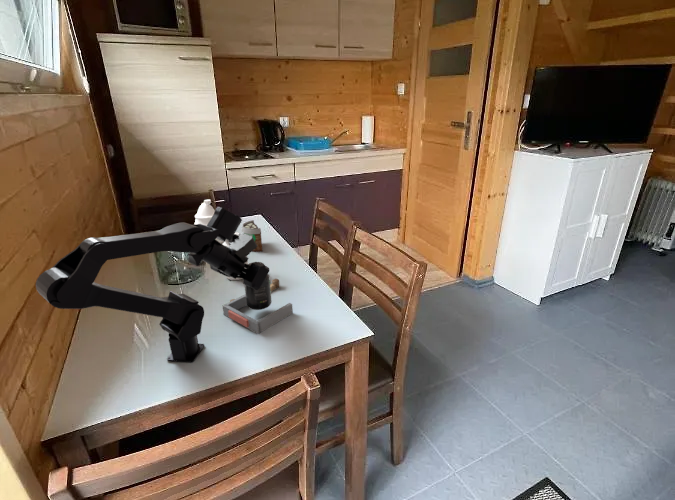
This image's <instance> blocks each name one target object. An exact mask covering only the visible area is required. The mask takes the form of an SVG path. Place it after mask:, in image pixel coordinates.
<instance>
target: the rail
mask: <svg viewBox="0 0 675 500" xmlns="http://www.w3.org/2000/svg"><path fill="white" fill-rule="evenodd" d="M280 287H281V285H280V280H279V279H278V278H273V279H272V280H271V283H270V289H271V292H273V291H275V290H277V289H280ZM235 299H236V298H233V299H230V300H229V302H230V301H232V300H235Z"/></svg>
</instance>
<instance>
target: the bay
mask: <svg viewBox="0 0 675 500" xmlns="http://www.w3.org/2000/svg"><path fill="white" fill-rule="evenodd" d="M234 299H235V300H232V299H231V300H232V301H230V300H229V302H225V304H224V303H223V305H222V312H223V315H224V316H226V317H227V318H229V319H230V320H232V321H234V322H236V323H238V324H239V325H241V326H242V327H245V328H247V329H249V330H250V331H252V332H253V333H256V334H260V333H262V332H264V331H265V330H267V329H268V328H271V327H272V326H273V325H275V324H277V323H278V322H280V321H283V320H284V319H285V318H287V317H289V316H291V315H293V314H294V311H293V303H291V302H288V303H287V304H285V305H283V306H281V307H279V308H277V309H276V310H274V311H273V312H270V313H269V314H267V315H266V316H263V317H262V318H260V319H258V320H257V319H256V318H255V319H254V318H253V317H251V316H249V315H247V314H245V313H243V312H241V311H240V309H242V308H244V307H247V301H246V293H245V294H243V295H241V296H239V297H237V298H234Z"/></svg>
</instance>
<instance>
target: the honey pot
mask: <svg viewBox="0 0 675 500" xmlns="http://www.w3.org/2000/svg"><path fill="white" fill-rule="evenodd" d="M215 210H216V209H215V208H214V207H213V206H212V205H211V199H204V200H203V203H201V205H199V207H198V209H197V213H196V214H195V215H194V218H195V220H194V221H195V222H194V224H202V225H206V226H207V224H208V223H209V221H210V220H211V218H212V216H213V215H214V212H215ZM194 224H193V225H194ZM215 240H217V241H218V242H220V243H221V244H223V243H224V242H223V241H221V240H219V239H217V238H216V239H215Z"/></svg>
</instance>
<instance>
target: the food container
mask: <svg viewBox="0 0 675 500" xmlns="http://www.w3.org/2000/svg"><path fill="white" fill-rule="evenodd" d="M241 233H242V234H247V235H250V236H252V237H253V239H254V241H255V242H256V244H257V248H256V249H254V250H253V251H252V252H251V253H253V252H254V253H260V252H263V242H262V230H261V227H258V225H257V224H256V223H255V220H253V219H252V220H248V221H245V222H243V224H242V225H241Z"/></svg>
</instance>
